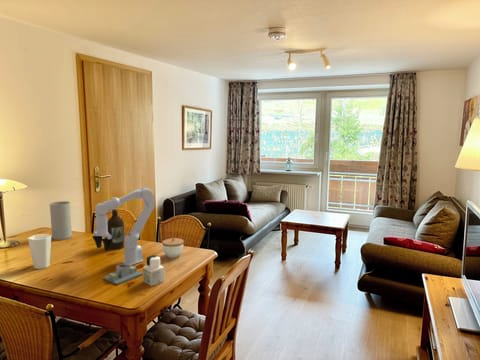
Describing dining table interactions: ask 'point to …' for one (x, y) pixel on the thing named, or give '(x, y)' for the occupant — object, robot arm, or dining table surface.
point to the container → (153, 271)
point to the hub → (122, 270)
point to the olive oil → (116, 230)
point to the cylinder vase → (60, 220)
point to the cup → (40, 250)
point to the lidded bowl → (173, 247)
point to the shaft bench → (118, 280)
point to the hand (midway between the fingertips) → (103, 249)
